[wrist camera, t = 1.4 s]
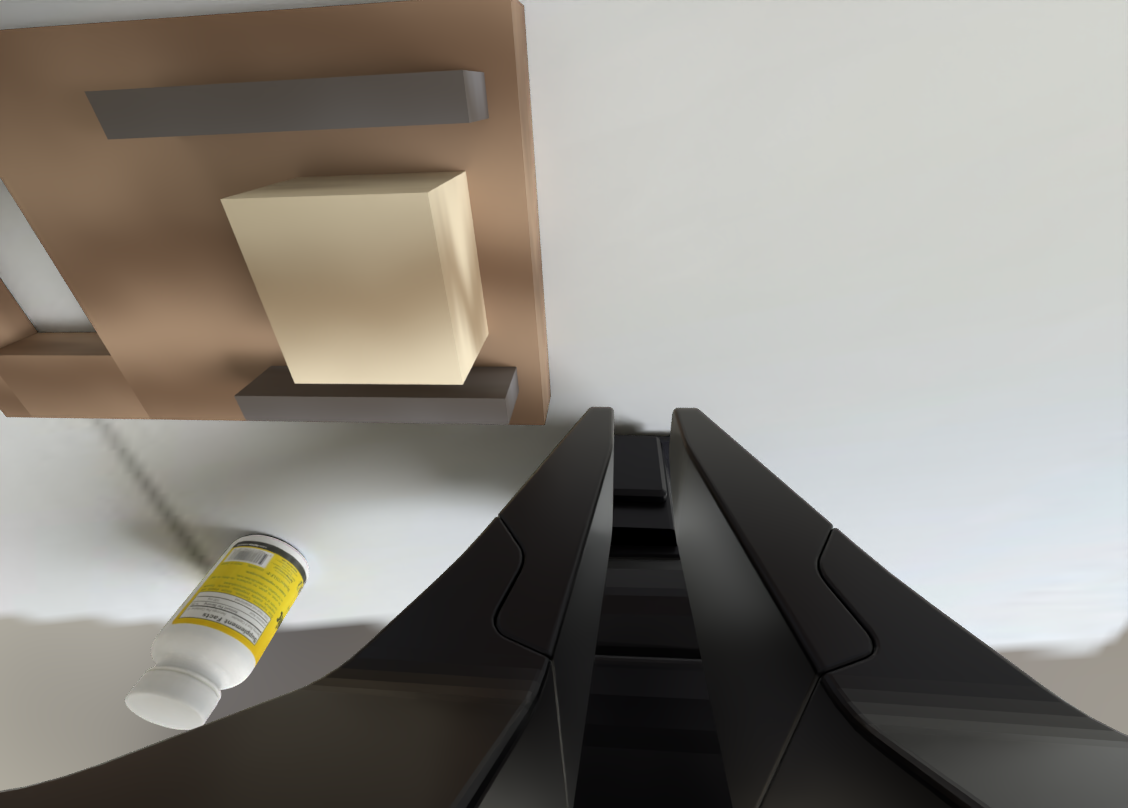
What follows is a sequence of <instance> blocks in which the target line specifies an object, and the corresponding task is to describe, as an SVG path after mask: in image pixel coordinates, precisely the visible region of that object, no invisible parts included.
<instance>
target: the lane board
mask: <svg viewBox="0 0 1128 808" xmlns="http://www.w3.org/2000/svg"><path fill="white" fill-rule="evenodd" d="M454 171H466V177H467V184H468V191H469V198H470V205H471V212H472V219H473V227H474V234H475V241H476V248H477V255H478V262H479V269H480V277H481V284H482V291H483V298H484V305H485V312H486V319H487V326H488V336H487V338H486V340H485V342H484V344H483V346H482V348H481V350H480V352H479V354H478V356H477V358H476V360H475V362H474V364H473V366H472V368H471V370H470V372H469V374H468V375H467V377H466V379H465V381H464V383H463V385H441V384H299V383H294V381H293V378H292V376H291V373H290V371H289V368H288V366H287V363H286V361H285V358H284V356H283V353H282V351H281V348H280V346H279V343H278V341H277V338H276V336H275V333H274V331H273V329H272V326H271V324H270V321H269V319H268V316H267V314H266V311H265V309H264V306H263V304H262V301H261V299H260V296H259V294H258V291H257V289H256V286H255V284H254V281H253V279H252V277H251V274H250V272H249V269H248V267H247V264H246V262H245V259H244V257H243V254H242V252H241V249H240V247H239V244H238V242H237V239H236V237H235V234H234V232H233V229H232V227H231V225H230V222H229V220H228V217H227V215H226V212H225V210H224V207H223V205H222V202H221V200H220V199H223V198H226V197H230V196H233V195H237V194H240V193H244V192H247V191H251V190H254V189H258V188H262V187H265V186H269V185H272V184H276V183H279V182H283V181H286V180H290V179H293V178H297V177H316V176H343V175H371V174H398V173H426V172H454ZM0 178H1V179H2V181H3V182H4V184H5V186H6V187H7V189H8V191H9V192H10V194H11V195H12V197H13V199H14V200H15V202H16V203H17V205H18V207H19V208H20V210H21V211H22V213H23V215H24V216H25V218H26V219H27V221H28V223H29V224H30V226H31V228H32V229H33V231H34V232H35V234H36V236H37V237H38V239H39V240H40V242H41V244H42V245H43V247H44V248H45V250H46V252H47V253H48V255H49V256H50V258H51V260H52V261H53V263H54V264H55V266H56V268H57V269H58V271H59V273H60V274H61V276H62V277H63V279H64V281H65V282H66V284H67V285H68V287H69V289H70V290H71V292H72V293H73V295H74V297H75V298H76V300H77V301H78V303H79V305H80V306H81V308H82V309H83V311H84V313H85V314H86V316H87V318H88V319H89V321H90V322H91V324H92V326H93V327H94V329H95V330H96V332H62V333H38V332H37V331H36V329H35V328H34V326H33V325H32V323H31V322H30V321H29V319H28V318H27V316H26V315H25V313H24V312H23V310H22V309H21V308H20V306H19V305H18V303H17V302H16V300H15V299H14V298H13V296H12V295H11V293H10V292H9V290H8V289H7V287H6V286H5V285H4V283H3V282H2V280H1V279H0V410H1V411H2V412H3V413H4V415H5V416H6V417H39V418H106V419H172V420H239V421H305V422H372V423H438V424H505V425H545V421H546V416H547V412H548V407H549V402H550V397H551V392H550V378H549V363H548V349H547V334H546V320H545V305H544V290H543V276H542V261H541V247H540V232H539V218H538V203H537V189H536V174H535V160H534V145H533V131H532V116H531V101H530V87H529V72H528V58H527V43H526V29H525V14H524V5H522V4H521V3H520V2H519V1H518V0H410V1H396V2H382V3H368V4H354V5H340V6H326V7H312V8H298V9H285V10H271V11H257V12H243V13H229V14H215V15H201V16H187V17H173V18H159V19H145V20H131V21H117V22H103V23H89V24H75V25H61V26H47V27H33V28H20V29H6V30H0Z"/></svg>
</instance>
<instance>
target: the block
mask: <svg viewBox="0 0 1128 808" xmlns="http://www.w3.org/2000/svg"><path fill="white" fill-rule="evenodd" d="M220 200H221V202H222V205H223V207H224V210H225V212H226V215H227V217H228V220H229V222H230V225H231V227H232V229H233V232H234V234H235V237H236V239H237V242H238V244H239V247H240V249H241V252H242V254H243V257H244V259H245V262H246V264H247V267H248V269H249V272H250V274H251V277H252V279H253V281H254V284H255V286H256V289H257V291H258V294H259V296H260V299H261V301H262V304H263V306H264V309H265V311H266V314H267V316H268V319H269V321H270V324H271V326H272V329H273V331H274V333H275V336H276V338H277V341H278V343H279V346H280V348H281V351H282V353H283V356H284V358H285V361H286V363H287V366H288V368H289V371H290V373H291V376H292V378H293V381H294V383H299V384H441V385H463V383H464V381H465V379H466V377H467V375H468V374H469V372H470V370H471V368H472V366H473V364H474V362H475V360H476V358H477V356H478V354H479V352H480V350H481V348H482V346H483V344H484V342H485V340H486V338H487V336H488V326H487V319H486V312H485V305H484V298H483V291H482V284H481V277H480V269H479V262H478V255H477V248H476V241H475V234H474V227H473V219H472V212H471V205H470V198H469V191H468V184H467V177H466V171H454V172H426V173H398V174H371V175H343V176H316V177H297V178H293V179H290V180H286V181H283V182H279V183H276V184H272V185H269V186H265V187H262V188H258V189H254V190H251V191H247V192H244V193H240V194H237V195H233V196H230V197H226V198H223V199H220Z"/></svg>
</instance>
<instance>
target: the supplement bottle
mask: <svg viewBox="0 0 1128 808" xmlns="http://www.w3.org/2000/svg"><path fill="white" fill-rule="evenodd" d="M308 576H309V565H308V563H307V561H306V559H305V558H304V557H303V555H302V554H301V553H300V552H299V551H297V550H296V549H295V548H294V547H292V546H290V545H289V544H287V543H285V542H283V541H281V540H279V539H276V538H273V537H269V536H264V535H249V536H244V537H241V538H239V539H237V540H236V541H235V542H233V543H232V544H231V546H230V547H229V548H228V549H227V550H226V551H225V552H224V554H223V555H222V556H221V557H220V559H219V560H218V561H217V562H216V563H215V565H214V566H213V567H212V568H211V570H210V571H209V572H208V573H207V574H206V576H205V577H204V578H203V579H202V581H201V582H200V583H199V584H198V585H197V587H196V588H195V589H194V590H193V592H192V593H191V594H190V595H189V596H188V598H187V599H186V600H185V601H184V603H183V604H182V605H181V606H180V608H179V609H178V610H177V611H176V613H175V614H174V615H173V616H172V617H171V619H170V620H169V621H168V622H167V624H166V625H165V626H164V627H163V629H162V630H161V631H160V632H159V634H158V635H157V636H156V638H155V639H154V641H153V643H152V646H151V656H152V659H153V661H154V663H155V664H156V666H155V667H151V668H149V669H148V670H147V671H146V672H145V673H144V675H143V676H141V678H140V679H139V680H138V682H137V683H136V684H135V686H134V687H133V688H132V690H131V691H130V692H129V693H128V695H127V696H126V698H125V703H126V705H127V707H128V708H129V709H130V710H131V711H132V712H133V713H135V714H136V715H138V716H139V717H141V718H143V719H145V720H147V721H149V722H152V723H155V724H157V725H161V726H164V727H168V728H173V729H179V730H191V729H194V728H197V727H199V726H202V725H204V723H205V722H206V720H207V719H208V717H209V716H210V714H211V713H212V711H213V710H214V708H215V707H216V706H217V704H218V701H219V700H220V698H221V692H220V690H222V689H228V688H231V687H234V686H236V685H238V684H240V683H241V682H243V681H244V680H245V679H246V678H247V677H248V676H249V675H250V673H251V672H252V670H253V669H254V667H255V666H256V664H257V662H258V661H259V659H260V657H261V656H262V654H263V652H264V651H265V649H266V647H267V646H268V644H269V642H270V641H271V639H272V637H273V636H274V634H275V632H276V631H277V629H278V628H279V626H280V624H281V623H282V621H283V619H284V617H285V616H286V614H287V613H288V611H289V609H290V608H291V606H292V604H293V603H294V601H295V599H296V598H297V596H298V595H299V593H300V591H301V590H302V588H303V586H304V584H305V583H306V581H307V579H308Z"/></svg>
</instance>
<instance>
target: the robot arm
mask: <svg viewBox="0 0 1128 808" xmlns="http://www.w3.org/2000/svg"><path fill="white" fill-rule="evenodd" d="M0 808H1128V736H1127V735H1125V734H1123V733H1121V732H1119V731H1116V730H1115V729H1113V728H1111V727H1109V726H1107V725H1105V724H1103V723H1101V722H1099V721H1097V720H1095V719H1094V718H1092V717H1090V716H1088V715H1087V714H1085V713H1084V712H1082V711H1080V710H1078V709H1077V708H1075V707H1074V706H1072V705H1070V704H1069V703H1067V702H1066V701H1064V700H1063V699H1061V698H1060V697H1058V696H1057V695H1055V694H1054V693H1053V692H1051V691H1050V690H1048V689H1047V688H1045V687H1044V686H1043V685H1041V684H1040V683H1038V682H1037V681H1036V680H1034V679H1033V678H1032V677H1030V676H1029V675H1027V674H1026V673H1025V672H1023V671H1022V670H1020V669H1019V668H1018V667H1017V666H1015V665H1014V664H1013V663H1011V662H1010V661H1008V660H1007V659H1006V658H1004V657H1003V656H1002V655H1000V654H999V653H998V652H996V651H995V650H993V649H992V648H991V647H989V646H988V645H987V644H985V643H984V642H983V641H981V640H980V639H978V638H977V637H976V636H974V635H973V634H972V633H970V632H969V631H968V630H966V629H965V628H963V627H962V626H961V625H959V624H958V623H957V622H955V621H954V620H953V619H951V618H950V617H948V616H947V615H946V614H944V613H943V612H942V611H940V610H939V609H938V608H936V607H935V606H933V605H932V604H931V603H929V602H928V601H927V600H925V599H924V598H923V597H922V596H920V595H919V594H918V593H916V592H915V591H914V590H912V589H911V588H910V587H908V586H907V585H906V584H904V583H903V582H902V581H900V580H899V579H898V578H897V577H895V576H894V575H893V574H891V573H890V572H889V571H888V570H886V569H885V568H884V567H883V566H881V565H880V564H879V563H878V562H877V561H875V560H874V559H873V558H872V557H871V556H869V555H868V554H867V553H866V552H864V551H863V550H862V549H861V548H860V547H858V546H857V545H856V544H855V543H854V542H853V541H851V540H850V539H849V538H848V537H847V536H846V535H844V534H843V533H842V532H841V531H840V530H839V529H837V528H833V525H832V524H831V523H830V522H829V521H828V520H827V519H826V518H824V517H823V516H822V515H821V514H820V513H819V512H817V511H816V510H815V509H814V508H813V507H812V506H810V505H809V504H808V503H807V502H806V501H805V500H804V499H802V498H801V497H800V496H799V495H798V494H797V493H795V492H794V491H793V490H792V489H791V488H790V487H788V486H787V485H786V484H785V483H784V482H783V481H781V480H780V479H779V478H778V477H777V476H776V475H775V474H773V473H772V472H771V471H770V470H769V469H768V468H766V467H765V466H764V465H763V464H762V463H761V462H759V461H758V460H757V459H756V458H755V457H754V456H752V455H751V454H750V453H749V452H748V451H747V450H746V449H744V448H743V447H742V446H741V445H740V444H739V443H737V442H736V441H735V440H734V439H733V438H732V437H730V436H729V435H728V434H727V433H726V432H725V431H723V430H722V429H721V428H720V427H719V426H718V425H717V424H715V423H714V422H713V421H712V420H711V419H710V418H708V417H707V416H706V415H705V414H704V413H703V412H701V411H700V410H699V409H697V408H675V409H674V411H673V414H672V422H671V433H670V437H667V436H629V435H614V410H613V409H612V408H611V407H591V408H589V409H588V411H587V412H586V413H585V414H584V415H583V416H582V418H581V419H580V420H579V421H578V422H577V423H576V424H575V426H574V427H573V428H572V429H571V430H570V431H569V433H568V434H567V435H566V436H565V437H564V438H563V440H562V441H561V442H560V443H559V444H558V445H557V447H556V448H555V449H554V450H553V451H552V452H551V454H550V455H549V456H548V457H547V458H546V459H545V461H544V462H543V463H542V464H541V465H540V466H539V468H538V469H537V470H536V471H535V472H534V473H533V475H532V476H531V477H530V478H529V479H528V480H527V482H526V483H525V484H524V485H523V486H522V487H521V488H520V490H519V491H518V492H517V493H516V494H515V495H514V497H513V498H512V499H511V500H510V501H509V502H508V504H507V505H506V506H505V507H504V508H503V509H502V511H501V512H500V513H499V514H498V517H495V518H494V520H493V521H492V522H491V523H490V524H489V525H488V527H487V528H486V529H485V530H484V531H483V532H482V533H481V535H480V536H479V537H478V538H477V539H476V540H475V541H474V542H473V543H472V544H471V545H470V547H469V548H468V549H467V550H466V551H465V552H464V553H463V554H462V555H461V556H460V557H459V558H458V559H457V560H456V561H455V562H454V563H453V564H452V565H451V566H450V567H449V568H448V569H447V570H446V571H445V572H444V573H443V574H442V575H441V576H440V577H439V578H438V579H436V580H435V581H434V582H433V583H432V584H431V585H430V586H429V587H428V588H427V589H426V590H425V591H424V592H422V593H421V594H420V595H419V596H418V597H417V598H416V599H415V600H414V601H413V602H412V603H411V604H409V605H408V606H407V607H406V608H405V609H404V610H403V611H402V612H401V613H400V614H399V615H397V616H396V617H395V618H394V619H393V620H392V621H391V622H390V623H389V624H388V625H387V626H386V627H384V628H383V629H382V630H381V631H380V632H379V633H378V634H377V635H376V636H375V637H374V638H373V639H371V641H369V642H368V643H367V644H366V645H365V646H364V647H363V648H361V649H360V650H359V651H358V652H357V653H356V654H354V655H353V656H352V657H351V658H350V659H348V660H347V661H346V662H344V663H343V664H342V665H340V666H339V667H338V668H336V669H335V670H333V671H331V672H330V673H328V674H327V675H325V676H324V677H322V678H320V679H318V680H317V681H314V682H313V683H311V684H309V685H307V686H304V687H302V688H299V689H297V690H295V691H292V692H289V693H286V694H284V695H282V696H279V697H276V698H273V699H271V700H268V701H265V702H263V703H260V704H258V705H255V706H252V707H249V708H247V709H244V710H242V711H239V712H236V713H234V714H231V715H228V716H226V717H223V718H220V719H218V720H215V721H212V722H210V723H207V724H204V725H202V726H199V727H197V728H194V729H191V730H189V731H186V732H184V733H181V734H178V735H175V736H173V737H170V738H167V739H165V740H162V741H159V742H157V743H154V744H152V745H149V746H146V747H144V748H141V749H138V750H136V751H133V752H130V753H128V754H125V755H122V756H120V757H117V758H115V759H112V760H109V761H107V762H104V763H101V764H99V765H96V766H93V767H90V768H87V769H84V770H81V771H78V772H75V773H72V774H69V775H67V776H64V777H60V778H56V779H53V780H48V781H45V782H41V783H38V784H33V785H29V786H26V787H20V788H15V789H9V790H3V791H0Z"/></svg>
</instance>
